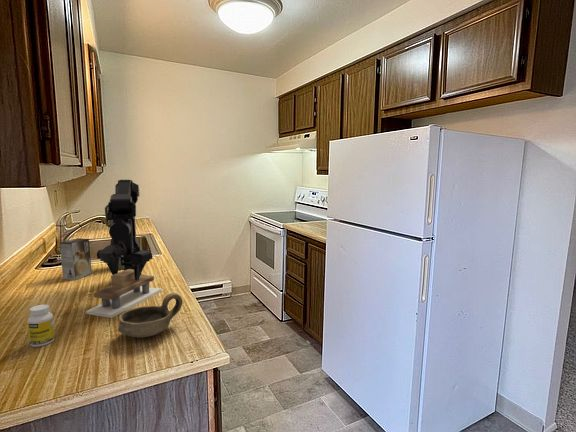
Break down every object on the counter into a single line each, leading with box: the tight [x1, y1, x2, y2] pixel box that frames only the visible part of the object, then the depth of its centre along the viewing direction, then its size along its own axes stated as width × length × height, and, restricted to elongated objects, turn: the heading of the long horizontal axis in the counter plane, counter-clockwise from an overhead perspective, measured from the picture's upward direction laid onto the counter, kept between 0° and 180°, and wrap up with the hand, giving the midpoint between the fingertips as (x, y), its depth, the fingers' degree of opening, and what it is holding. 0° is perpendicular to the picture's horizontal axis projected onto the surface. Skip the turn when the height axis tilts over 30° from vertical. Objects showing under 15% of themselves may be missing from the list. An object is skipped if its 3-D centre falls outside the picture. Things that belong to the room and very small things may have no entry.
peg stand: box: [85, 282, 163, 319], centre depth 114 cm, size 24×10×5 cm, turn 164°
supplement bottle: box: [27, 304, 56, 348], centre depth 86 cm, size 5×5×10 cm
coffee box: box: [59, 237, 93, 281], centre depth 139 cm, size 9×6×16 cm
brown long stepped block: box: [93, 269, 155, 300], centre depth 113 cm, size 20×7×6 cm, turn 164°
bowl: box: [117, 292, 183, 338], centre depth 92 cm, size 14×18×10 cm
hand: (126, 278), depth 113 cm, fingers open, 9 cm apart
